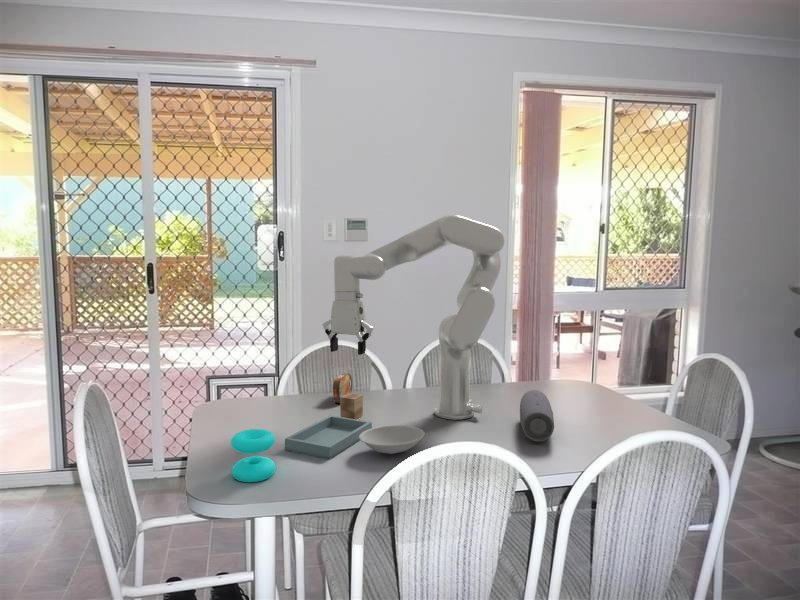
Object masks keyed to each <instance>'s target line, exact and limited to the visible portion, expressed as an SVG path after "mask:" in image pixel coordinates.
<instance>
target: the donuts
mask: <svg viewBox="0 0 800 600" xmlns="http://www.w3.org/2000/svg"><path fill="white" fill-rule="evenodd" d="M275 440H276V438H275V435H274V433H273V432H272V431H270V430H267V429H262V428H261V429H260V428H252V429H245V430H242V431H239V432H237V433H235V434H234V435H233V436H232V438H231V439H230V446H231V447H232V449H233V450H235V451H236V452H239V453H241V454H245V455H246V454H247V455H248V454H250V455H252V456H247V457H244V458H242V459H240V460H238V461H236V462H235V463H234V465H233V466H232V469H231V474H232V476H233V478H234V479H235V480H237V481H239V482H243V483H257V482H262V481H265V480H267V479H270V478H271V477H272V476H273V475H274V474H275V472H276V464H275V461H273V460H272V459H271V458H270V457H267V456H261V455H254V454H259V453H264V452H266V451H268V450H269V449H270V448H272V447H273V445H274V444H275Z"/></svg>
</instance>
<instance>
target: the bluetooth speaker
mask: <svg viewBox="0 0 800 600" xmlns="http://www.w3.org/2000/svg"><path fill="white" fill-rule="evenodd" d="M519 421H520V425H521V428H522V431H523V433H524V435H525V436H526V437H527V438H528V439H529V440H531V441H534V442H545V441H547V440H549V439H550V437H551V436H552V435H553V433H554V430H555V419H554V412H553V408H552V405H551V403H550V401H549V399H548V397H547V395H545V393H543V392H542V391H541V390H537V389H532V390H528V391H527V392H525V393H524V394H523V396H522V397H521V399H520V404H519Z"/></svg>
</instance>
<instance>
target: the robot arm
mask: <svg viewBox="0 0 800 600" xmlns="http://www.w3.org/2000/svg"><path fill="white" fill-rule="evenodd" d="M451 244H452V245H456V246H457V247H461V248H464V249H466V250H470V251H471V253H472V255H473V261H472V262H473V263H472V266H471V268H470V271H469V273H468V275H467V277H466V279H465V281H464V283H463V285H462V287H461V289H460V290H459V292H458V294H457V297H456V304H457V307H458V308H459V310H458V312H457V314H449V315H446V316H445V317H444V318H443V319H442V320H441V321H440V324H439V326H438V327H439V328H438V343H439V396H438V397H439V402H438V403H439V406H437V407H435V408H434V411H433V412H434V415H435V416H437V418H441V419H445V420H452V421H453V420H455V421H457V420H459V421H460V420H467V419H470V418H472V417H474V415H475V413H477V414H482V413H483V407H482V406H481V405H480V404H474V403H473V399H471V397H470V395H471V394H470V391H471V389H470V388H471V386H470V384H471V379H470V378H471V349H473V348H474V347H475V346H476V345H477V343H478V342H479V340H480V338H481V336H482V335H483V333H484V331H485V329H486V328H487V325H488V322H489V321H490V319H491V318H492V315H493V313H494V310H495V305H496V301H495V300H496V299H495V297H494V294H493V292H492V290H493V289H494V286H495V284H496V282H497V279H498V276H499V275H500V270H501V265H502V261H501V254H500V253H501V251H502V250H503V248H504V245H505V237H504V234H503V232H502V231H501V230H500V229H498V228H497V227H495V226H492V225H489V224H485V223H483V222H480V221H476V220H472V219H470V218H468V217H464V216H461V215H458V214H451V215H450V214H449V215H444V216H441V217H439V218H437V219H436V220H433V221H431V222H429V223H427V224H425V225H423V226H421V227H419V228H417V229H415V230H413V231H411V232H410V231H409V233H407V234H404V235H403V236H401V237H398V238H397V239H395V240H393V241H391V242H389V243H387V244H384V245H383V246H380V247H379V248H376V249H374V250H372V251H370V252H368V253H366V254H364V255H363V256H357V255H344V254H343V255H342V254H341V255H337V256H336V257H334V261H333V266H334V267H333V269H334V270H333V271H334V272H333V273H334V279H333V280H334V281H333V282H334V300H333V301H332V306H331V311H330V313H331V314H330V319H329V320H327V321H325V322H324V323H322V326H323V329H324V332H325V334H326V335H327V338H328V339H329V345H330V346H329V348H330V352H333V353H334V352H336V351H338V350H339V338H338V335H339V334H340V335H350V336H351V335H352V336H356V338H357V339H358V341H357V354H358V356H361V355H363V354H365V353H366V349H367V344H366V343H367V340H368V339H369V338H370V337H371V336H372V332H373V331H374V326H372V325H371V324H369V323H368V322H366V313H365V308H364V307H365V306H364V304H363V301H362V300H361V299H363V297H364V294H363V293H361V291H360V287H361V286H360V279H361V280H367V281H378V280H379V279H381V278H383V277H384V276H385V273H386V271H389V270H391V269H392V268H395V267H398V266H399V265H402V264H406V263H410V262H416V261H419V260H421V259H424V258H425V257H427V256H429V255H431V254H434V253H435V252H437V251H439V250H441V249H443V248H446V247H447V246H450V245H451Z"/></svg>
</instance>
